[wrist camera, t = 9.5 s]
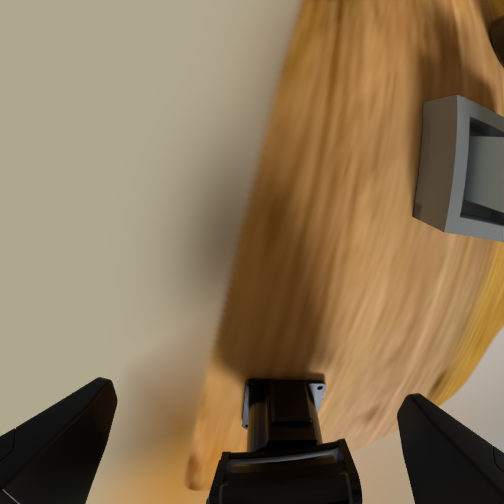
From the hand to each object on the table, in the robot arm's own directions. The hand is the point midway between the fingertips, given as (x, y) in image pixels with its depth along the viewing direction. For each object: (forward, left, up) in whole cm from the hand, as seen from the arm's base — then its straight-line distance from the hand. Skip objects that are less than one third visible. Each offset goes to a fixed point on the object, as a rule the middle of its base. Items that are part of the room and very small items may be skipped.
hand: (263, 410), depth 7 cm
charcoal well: (+8, -14, -12) cm, 20 cm away
